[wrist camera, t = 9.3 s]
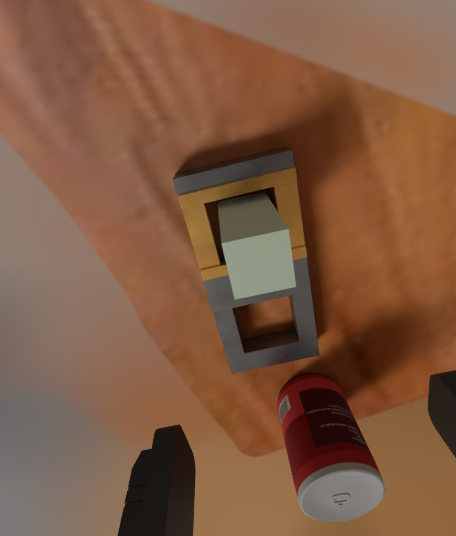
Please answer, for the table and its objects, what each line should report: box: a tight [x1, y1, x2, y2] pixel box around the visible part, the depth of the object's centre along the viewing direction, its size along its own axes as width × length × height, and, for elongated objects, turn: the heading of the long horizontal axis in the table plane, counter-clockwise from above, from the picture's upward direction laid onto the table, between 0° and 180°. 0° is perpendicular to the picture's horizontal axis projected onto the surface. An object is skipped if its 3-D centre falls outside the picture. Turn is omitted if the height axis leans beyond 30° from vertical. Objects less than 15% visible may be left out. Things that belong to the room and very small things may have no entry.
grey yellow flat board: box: [173, 147, 319, 374], centre depth 29 cm, size 9×20×2 cm, turn 13°
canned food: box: [277, 374, 385, 522], centre depth 33 cm, size 8×8×11 cm
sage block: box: [217, 191, 296, 299], centre depth 24 cm, size 4×4×9 cm
